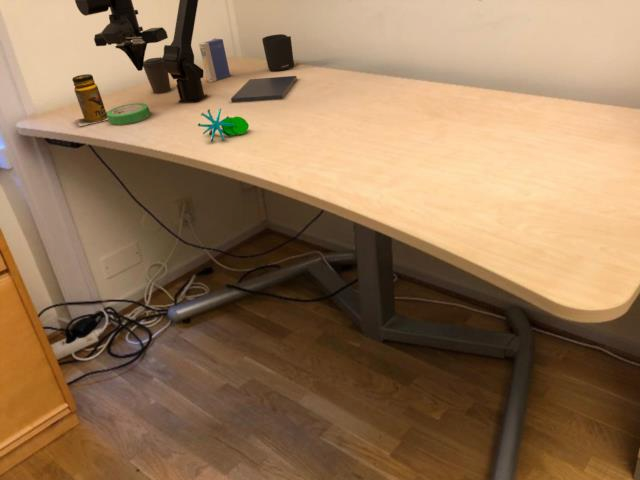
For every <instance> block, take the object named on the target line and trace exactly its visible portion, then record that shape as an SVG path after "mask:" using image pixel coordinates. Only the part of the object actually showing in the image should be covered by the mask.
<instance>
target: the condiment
mask: <svg viewBox="0 0 640 480" xmlns="http://www.w3.org/2000/svg"><path fill="white" fill-rule="evenodd" d="M71 81H72V82H73V86H74V93H75V96H76V99H77V101H78V105H79V107H80V110H81V113H82V116H83V118H78V119H75V122H76V123H77V125H78V127H83V126H87V125H91V124H96V123H100V122H105V121H109V119H108V116H107V110H106V108H105V107H106V106H105V104H104V102H103V99H102V96H101V93H100V89H99V87H98V84H96V83H95V79H94V76H93V75H92V74H91V73H85V74H79V75H76V76H74V77H72V80H71Z"/></svg>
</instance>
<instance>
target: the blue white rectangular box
mask: <svg viewBox="0 0 640 480" xmlns="http://www.w3.org/2000/svg"><path fill="white" fill-rule="evenodd" d="M198 47H199V49H200V55H201V60H202V63H203V68H204V72H205V76H206V80H207V82H210V83H213V82H215V81H218V80H222V79H224V78H225V79H226V78H228V77H230V76H231V73H230V68H229V67H230V66H229V63H228V59H227V53H226V50H225V49H226V48H225V44H224V39H222V38H216V37H215V38H212V40H208V41H204V42H201V43H199V44H198Z"/></svg>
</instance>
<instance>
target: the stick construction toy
mask: <svg viewBox="0 0 640 480" xmlns="http://www.w3.org/2000/svg"><path fill="white" fill-rule="evenodd" d="M210 111H211V109H210V108H209V109H208V110H207V114H208V115H207V114H205V113H204V112H201V113H200V116H201V117H202V116H203V117H204V118H205V119H207V120H208V121H209V122H210V123H211V124H207V123H203V124H202V123H198V124H197V126H198V127H201V128H206V129H205V130H204V131H203V132H202V134H203V135H205V134H206V133H208V135H209V136H211V137H210V142H211V143H213V142H214V139H215V136H216V135H215V134H216V131H218V133H219V135H220V138H221V141H222V142H224V141H225V137H224V135H225V136H226V137H228V138H231V137H233V136H237V135H238V136H241V135H244V134H245V133H247V131H248V130H249V128H250V124H249V123H248V121H247V120H246V119H245V118H243V117H241V116H233V117H229V116H228V115H227V116H226V117H225V118H223V119H221V120H220V118H221V112H222V108H219V109H218V112H217V116H216V119H215V118H214V117H213V115H212V114H211V112H210Z"/></svg>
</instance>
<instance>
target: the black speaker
mask: <svg viewBox="0 0 640 480" xmlns="http://www.w3.org/2000/svg"><path fill="white" fill-rule="evenodd" d="M261 41H262V46H263V50H264V55H265V59H266V64H267V69H268V70H269V71H270V72H283V71H288V70H291V69H293V68H294V66H295V62H294V53H293V44H292V36H291V35H286V34H284V33H278V34H271V35H267V36H264V37H262V39H261Z"/></svg>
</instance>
